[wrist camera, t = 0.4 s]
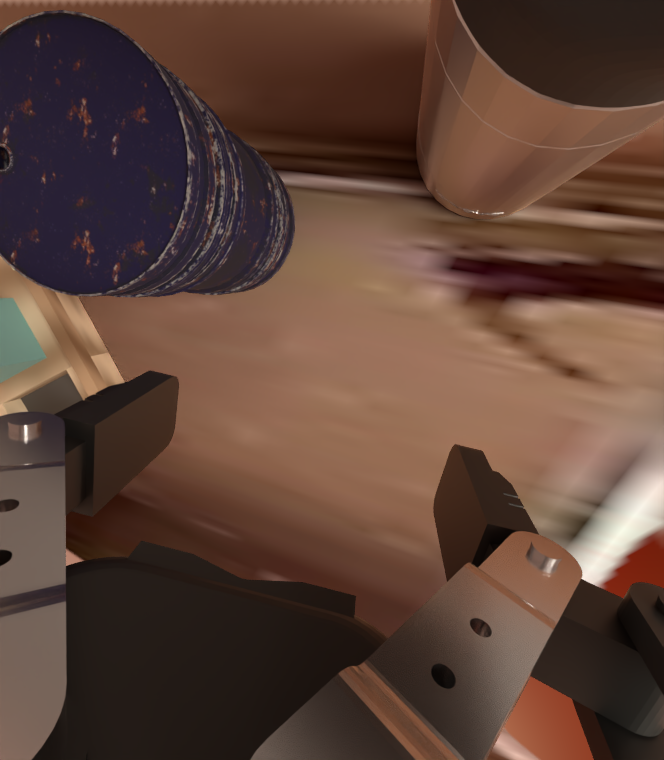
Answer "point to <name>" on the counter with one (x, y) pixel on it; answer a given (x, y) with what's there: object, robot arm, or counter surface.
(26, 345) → the teal block
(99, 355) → the box
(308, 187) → the counter surface
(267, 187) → the navy cylinder
